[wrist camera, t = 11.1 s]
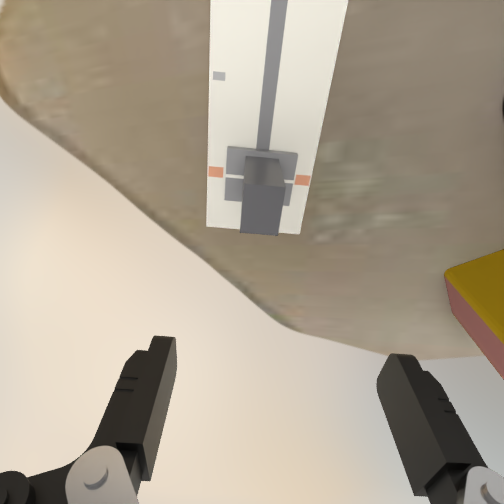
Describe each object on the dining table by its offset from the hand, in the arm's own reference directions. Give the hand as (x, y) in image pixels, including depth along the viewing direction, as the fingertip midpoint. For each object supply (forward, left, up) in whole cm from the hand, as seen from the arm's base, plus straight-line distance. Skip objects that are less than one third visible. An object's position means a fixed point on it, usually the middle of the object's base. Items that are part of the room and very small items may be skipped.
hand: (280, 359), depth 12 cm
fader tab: (0, 0, -21) cm, 21 cm away
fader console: (0, -8, -24) cm, 25 cm away
